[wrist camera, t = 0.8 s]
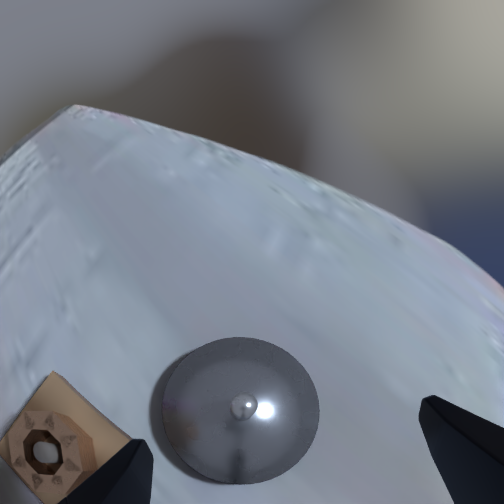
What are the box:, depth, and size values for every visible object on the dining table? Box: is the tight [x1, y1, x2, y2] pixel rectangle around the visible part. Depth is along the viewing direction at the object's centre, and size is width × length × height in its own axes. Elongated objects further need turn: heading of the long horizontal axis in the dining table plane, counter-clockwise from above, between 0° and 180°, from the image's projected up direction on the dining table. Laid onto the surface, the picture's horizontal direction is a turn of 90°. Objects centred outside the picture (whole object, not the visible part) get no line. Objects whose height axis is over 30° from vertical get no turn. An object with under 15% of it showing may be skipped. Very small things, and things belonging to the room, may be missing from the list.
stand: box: [0, 371, 132, 504], centre depth 17 cm, size 10×10×5 cm
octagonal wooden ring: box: [8, 411, 98, 494], centre depth 16 cm, size 6×6×3 cm
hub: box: [162, 337, 319, 485], centre depth 22 cm, size 12×12×4 cm
